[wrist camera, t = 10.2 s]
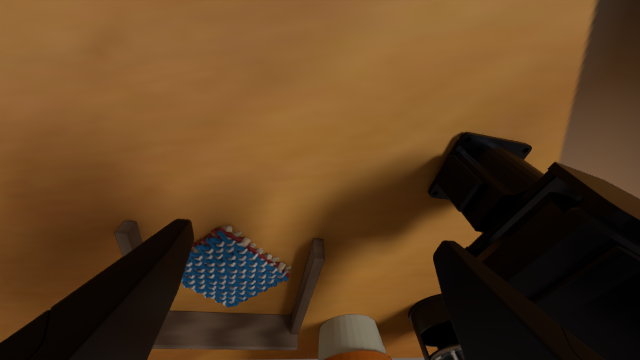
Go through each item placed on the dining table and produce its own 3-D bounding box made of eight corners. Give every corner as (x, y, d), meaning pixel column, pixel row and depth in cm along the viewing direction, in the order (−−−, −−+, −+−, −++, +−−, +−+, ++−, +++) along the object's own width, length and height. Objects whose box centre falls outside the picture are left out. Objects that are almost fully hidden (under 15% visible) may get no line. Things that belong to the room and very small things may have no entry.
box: (322, 239, 26) (326, 272, 23) (296, 319, 36) (296, 350, 33) (124, 220, 23) (95, 256, 20) (155, 314, 33) (139, 348, 29)
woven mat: (234, 297, 33) (231, 312, 31) (161, 259, 27) (152, 276, 26) (295, 265, 29) (295, 281, 28) (226, 216, 24) (221, 231, 22)
